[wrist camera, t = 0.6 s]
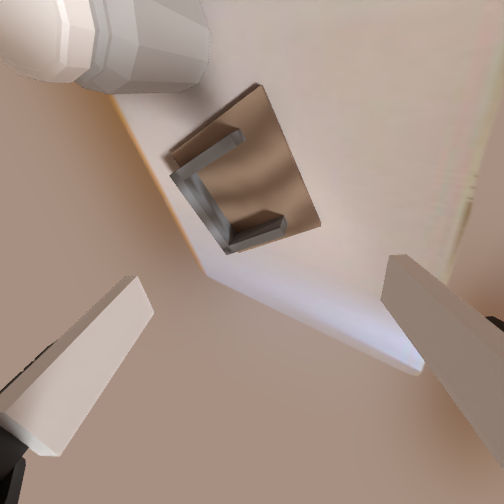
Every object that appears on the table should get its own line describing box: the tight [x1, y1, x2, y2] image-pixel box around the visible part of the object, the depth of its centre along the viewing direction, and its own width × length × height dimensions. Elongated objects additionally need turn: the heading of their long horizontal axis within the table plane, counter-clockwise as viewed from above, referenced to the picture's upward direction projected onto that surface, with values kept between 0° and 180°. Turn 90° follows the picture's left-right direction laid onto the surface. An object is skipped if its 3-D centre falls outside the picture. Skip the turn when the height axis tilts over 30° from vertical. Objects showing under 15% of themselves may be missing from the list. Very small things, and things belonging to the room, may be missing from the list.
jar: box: [0, 0, 210, 94], centre depth 18 cm, size 10×10×18 cm
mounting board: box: [169, 85, 321, 255], centre depth 31 cm, size 20×16×5 cm
